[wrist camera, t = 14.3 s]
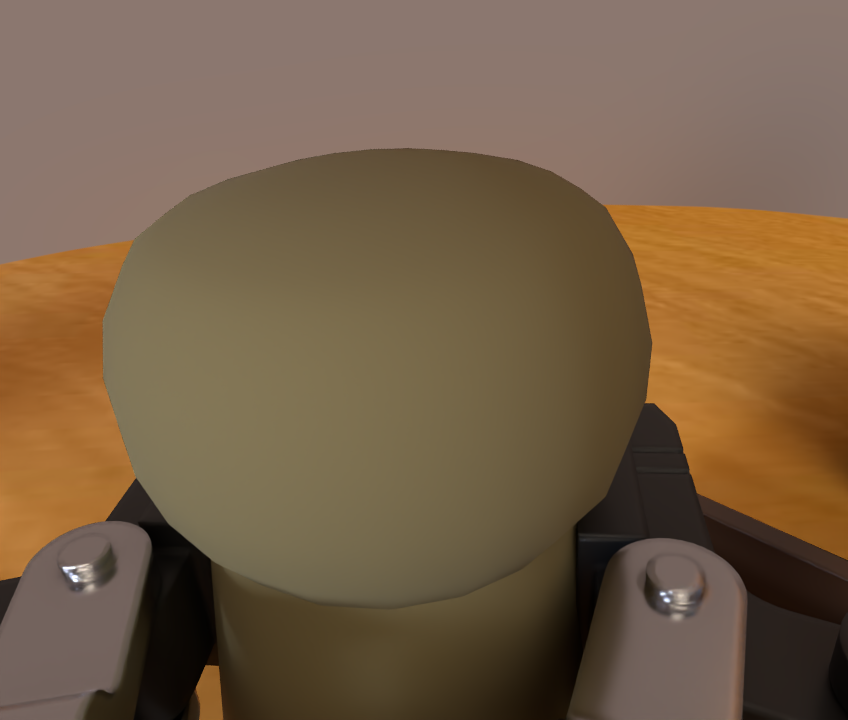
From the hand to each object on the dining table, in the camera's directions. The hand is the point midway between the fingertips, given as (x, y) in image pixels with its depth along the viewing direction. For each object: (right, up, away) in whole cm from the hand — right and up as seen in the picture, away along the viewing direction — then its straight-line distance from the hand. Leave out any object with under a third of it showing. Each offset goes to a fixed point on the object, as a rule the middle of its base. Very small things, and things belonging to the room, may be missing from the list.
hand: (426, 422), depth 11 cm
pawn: (0, -7, +1) cm, 7 cm away
